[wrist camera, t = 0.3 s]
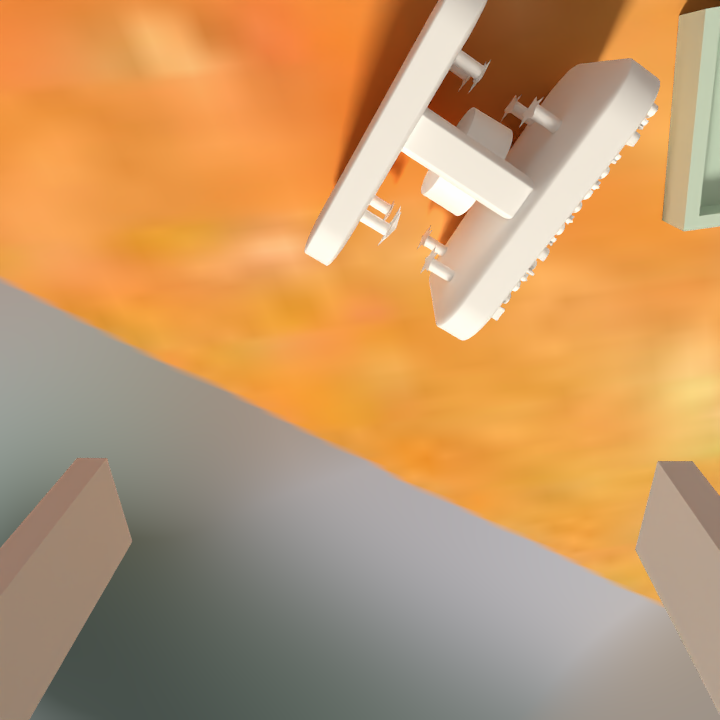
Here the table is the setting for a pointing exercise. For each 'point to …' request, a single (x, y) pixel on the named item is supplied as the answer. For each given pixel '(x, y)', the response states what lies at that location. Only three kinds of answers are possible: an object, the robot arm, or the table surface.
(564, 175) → the cable organizer
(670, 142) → the tray
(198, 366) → the table surface
